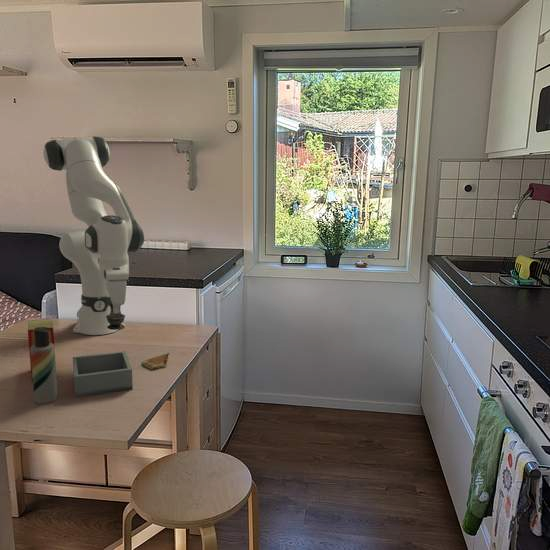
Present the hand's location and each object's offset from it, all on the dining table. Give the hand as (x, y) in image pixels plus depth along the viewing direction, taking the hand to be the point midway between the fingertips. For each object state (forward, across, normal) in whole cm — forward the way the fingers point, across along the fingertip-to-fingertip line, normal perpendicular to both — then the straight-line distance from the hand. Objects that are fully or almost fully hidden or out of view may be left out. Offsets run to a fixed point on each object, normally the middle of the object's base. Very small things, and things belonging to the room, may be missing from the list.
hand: (115, 310), depth 155 cm
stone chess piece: (+6, 0, 0) cm, 6 cm away
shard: (+17, +7, +11) cm, 21 cm away
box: (+16, +17, -6) cm, 24 cm away
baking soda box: (+17, +5, -21) cm, 28 cm away
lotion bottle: (+16, +23, -21) cm, 35 cm away
